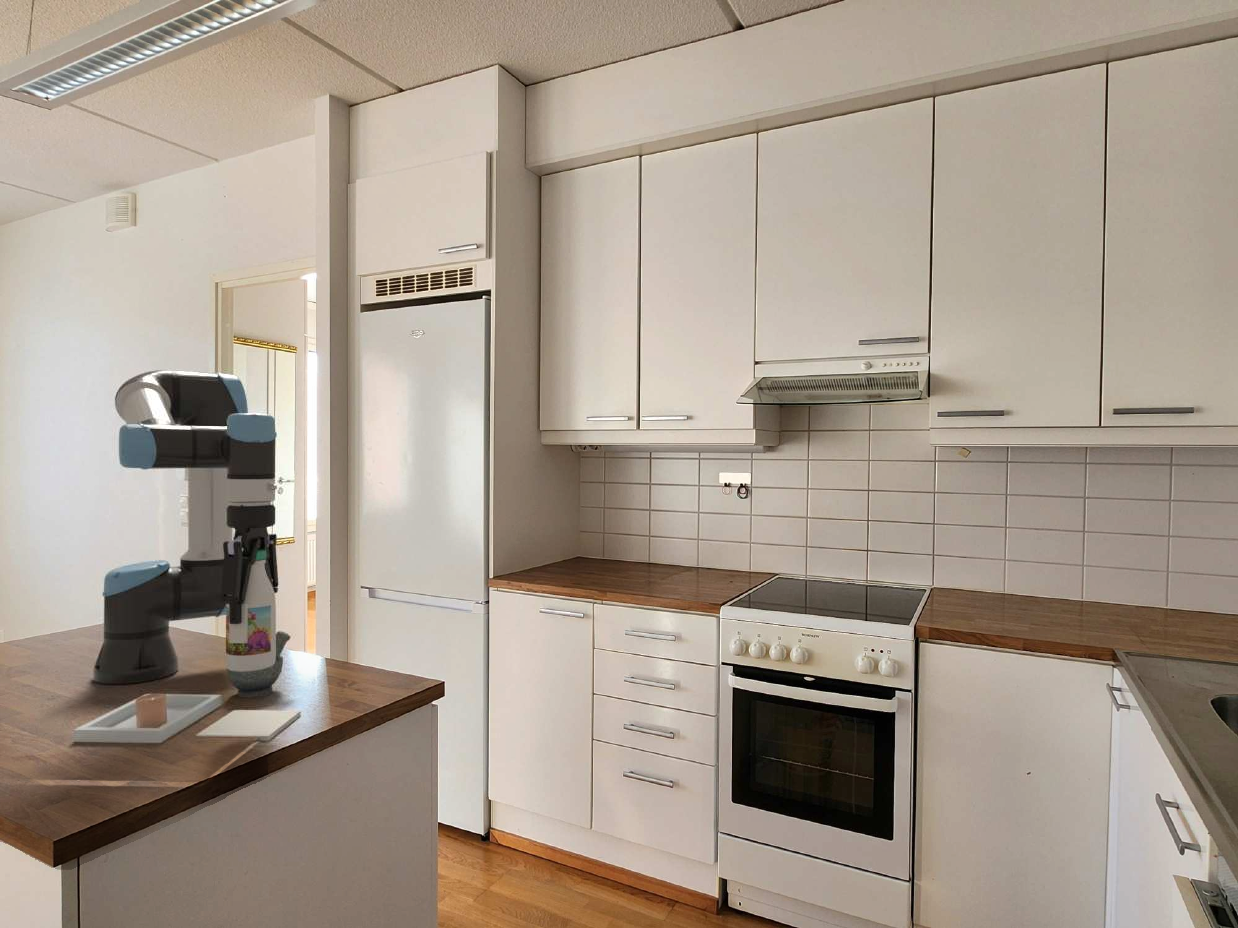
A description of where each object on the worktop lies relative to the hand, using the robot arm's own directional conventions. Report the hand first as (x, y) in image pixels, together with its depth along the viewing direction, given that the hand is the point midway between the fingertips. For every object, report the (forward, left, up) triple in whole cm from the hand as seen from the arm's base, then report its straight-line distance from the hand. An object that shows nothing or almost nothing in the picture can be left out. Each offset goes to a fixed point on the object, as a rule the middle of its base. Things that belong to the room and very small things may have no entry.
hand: (251, 636), depth 129 cm
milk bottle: (0, 0, -5) cm, 5 cm away
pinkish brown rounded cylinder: (+2, -16, -15) cm, 22 cm away
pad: (0, 0, -16) cm, 16 cm away
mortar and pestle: (-17, -7, -16) cm, 24 cm away
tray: (0, -17, -16) cm, 23 cm away
